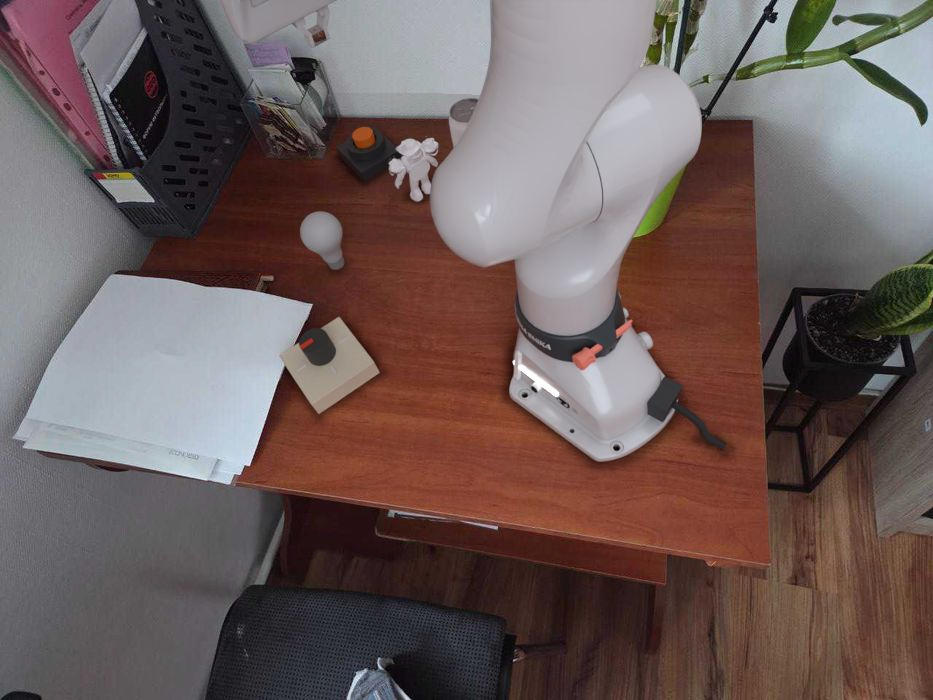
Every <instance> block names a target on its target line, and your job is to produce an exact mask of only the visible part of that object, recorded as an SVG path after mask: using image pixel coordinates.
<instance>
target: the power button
mask: <svg viewBox="0 0 933 700" xmlns="http://www.w3.org/2000/svg"><path fill="white" fill-rule="evenodd" d="M352 133H353V134H352ZM352 133H351V134H352V137H353V140H354V143H355V145H356V147H357V148H361V149H363V148H368V147H370V146H371V145H373V144H374V143H375V137H374V134H373V131H372V129H371V127H370V128H369V126H361V127H358V128H356V129H355V130H354V131H353V132H352Z"/></svg>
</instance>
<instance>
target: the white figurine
mask: <svg viewBox="0 0 933 700" xmlns="http://www.w3.org/2000/svg"><path fill="white" fill-rule="evenodd" d="M396 147H397V148H396V150H397V149H398V150H397V151H398V152H399V153H400V154H401V156H402V157H401V160H400V159H395V158H394V159H392V161H390V162H389V163H388V164H389V165H390V166H389V168H388V172H389V174H390V176H393V177H394V175H395V174H396V178H395V180H394V186H395V187H396V189H400V187H401V186H402V184H403V180H404V178H405V176H406V174H407V173H408V176H409V178H408V179H409V188H410V193H409V197H410V199H411V200H413V201H414V202H420V201H422V200H423V199H424V195H423V194H425V195H430V190H431V184H432V182H431V181H430V180H429V175H428V174H429V171H430V169H431V166H433V167H435V168H438V167H439V163H438V160H437V159H436V158H435V156H437V155H438V153H439V142H437V141H435V138H434V137H428V138H427V137H426V139H424V140H423V141H422V142H420V141H418V140H417V139H414V138H406V139H404V140H401V143H400V144H399V145H398V146H396ZM435 151H436V152H435ZM434 152H435V153H434ZM390 159H391V158H390ZM419 181H420V182H419ZM419 183H421V189H420V186H419ZM422 192H424V193H422Z"/></svg>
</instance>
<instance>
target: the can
mask: <svg viewBox="0 0 933 700" xmlns="http://www.w3.org/2000/svg"><path fill="white" fill-rule="evenodd" d="M478 100H479V98H476V97H467V98H462V99H460V100H457V101H456V102H454V103H453V104H452V105H451V106H450V109H449V117H448V126H449V132H450V137H451V142H452V147H453V148H454V147H455V145H456V144H457V143H458V141H459V139H460V138H461V136H462V134H463V133H464V131H465V129H466V127H467V125H468V123H469V121H470V119H471V117H472V115H473V112H474V110H475V108H476V105H477V102H478ZM453 148H452V149H453Z"/></svg>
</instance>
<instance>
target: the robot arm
mask: <svg viewBox="0 0 933 700" xmlns="http://www.w3.org/2000/svg"><path fill="white" fill-rule="evenodd" d="M337 1H338V0H220V3H221V5H222V8H223V12H224V14H225V16H226V19H227V21H228V23H229V26H230V29H231V30H232V31H233V33H234V35H235V36H236V37H237V38H238V39H239V40H240V41H242V42H244V43H246V44H248V45H254V44H256V43H257V42H259V41H261V40H263V39H266V38H267V37H269V36H271V35H272V34H274V33H277V32H279V31H280V30H283V29H285V28H286V27H289V26H290V25H292V26H294V27H295V28H296V29H297V30H298V31H300V33H301V34H303V37H304V39H305V42H306V44H307V45H308V46H309V47H310V48H311V49H314V48H315V47H317V46H319V45H321V44H322V43H324V42H327V41H329V40H330V39H331V37H330V33H329V31H328V25H329V19H330V13H331V12H330V9H329V5H331V4H333V3H334V2H335V3H336V2H337ZM657 3H658V0H489V18H490V49H489V60H488V65H487V70H486V74H485V78H484V81H483V82H484V83H483V85H482V89H481V91H480V94H479V98H478V99H479V100H478V102H477V105H476V108H475V110H474V112H473V115H472V117H471V119H470V121H469V123H468V125H467V127H466V129H465V131H464V133H463V134H462V136H461V138H460V139H459V141H458V143H457V144H456V145H455V147H454V148H452V149H451V150H450V153H448V155H447V156H446V157H445V158H444V159H443V161H441V163H440V164H438V166H437V167H436V169H435V171H434V173H433V177H432V180H431V190H430V194H429V207H430V214H431V218H432V222H433V224H434V227H435V229H436V231H437V234H438V235H439V237H440V238H441V240H442V242H444V244H445V245H446V247H448V248H449V250H451V252H452V253H454V254H455V255H456V256H458V257H459V259H461V260H463V261H465V262H467V263H469V264H472V265H474V266H477V267H480V268H488V267H491V266H495V265H496V266H497V265H500V264H503V263H507V262H510V261H513V260H514V271H515V279H516V288H517V289H516V291H515V299H514V301H515V302H514V314H515V317H516V318H515V319H516V322H517V326H518V330H517V337H516V343H515V347H514V350H513V355H512V364H513V365H512V366H513V374H512V378H511V380H510V383H509V386H508V395H509V397H510V399H511V400H512V401H513V402H515V403H517V405H519V406H520V407H522V408H523V409H524V410H525V411H527V412H528V413H530V414H531V415H533V416H534V417H535V418H537V419H538V420H540V421H541V422H542V423H543V424H545V425H546V426H547V427H549V428H550V429H551V430H553V431H554V432H555V433H557V434H558V435H559V436H560V437H562V438H564V440H566V441H568V442H569V443H570V444H572V445H573V446H574V447H576V448H577V449H578V450H580V451H581V452H582V453H584V454H585V455H587V456H588V457H589V458H590V459H592V460H593V461H595V462H601V463H602V462H611V461H614V460H618V459H620V458H623V457H626V456H628V455H630V454H631V453H634V452H635V451H637V450H638V449H640V448H642V447H643V446H645V445H646V444H647V443H648V442H650V441H651V440H652V439H653V438H654V437H656V436H657V435H658V434H659V433H660V432H661V431H662V430H663V429H664V428H665V427H666V426H667V424H668V423H669V422H670V421H671V419H672V417H673V416H674V414H675V412H677V413H678V414H680V415H682V416H683V417H685V418H686V419H687V420H689V421H690V422H691V423H692V424H693V425H695V426H696V428H697V429H698V431H699V434H700V435H701V437H702V438H703V439H704V440H705V441H706V442H707V443H709V444H711V445H712V446H714V447H716V448H718V449H720V450H722V451H723V450H724V449H725V448H726V446H727V445H728V443H727V442H726V441H723V440H721V439H719V438H717V437H715V436H714V435H712V434H711V433H710V432H709V429H708V426H707V425H706V423H705V422H704V421H703V420H702V419H701V418H700V417H699V416H698V415H697V414H695V413H694V412H693V411H692V410H690V409H688V408H687V407H685V405H682V403H680V402H679V398H680V396H681V393H682V390H683V387H684V385H682V384H681V383H678V382H676V381H675V380H673V379H671V378H669V377H667V376H666V375H665V374H664V373H663V371H662V370H661V369H660V367H659V366H658V365H657V363H656V362H655V360H654V359H653V356H651V354H650V352H649V350H650V349H652V348H653V347H654V342H653V339H652V337H651V335H650V334H649V333H648V332H647V331H641V332H639V333H637V332H636V331H635V329H634V327H633V319H632V318H631V319H629V320H628V317H629V316H630V315H629V311H628V310H627V308H625V307H623V304H622V301H621V293H620V292H619V290H618V281H619V276H620V271H621V266H622V261H623V258H624V256H625V254H626V252H627V250H628V247H629V246H630V244H631V242H632V240H633V238H634V237H635V235H636V233H637V231H638V230H639V228H640V226H641V225H642V223H643V221H644V220H645V218H646V216H647V214H648V213H649V212H650V210H651V208H652V207H653V206H654V204H655V203H656V201H657V199H658V198H659V197H660V195H661V194H662V193H663V192H664V191H665V189H666V188H667V186H668V185H669V184H670V183H671V181H673V180H674V178H675V177H676V176H677V175H678V174H679V173H680V172H681V171H682V170H683V169H684V168H685V167H686V166H687V165H688V164H689V163H690V162H691V161H692V160H693V159H694V158H695V156H696V154H697V152H698V150H699V147H700V144H701V139H702V133H703V132H702V131H703V117H702V111H701V108H700V104H699V101H698V99H697V96H696V94H695V92H694V91H693V89H692V88H691V86H690V85H689V83H688V82H687V81H686V80H685V79H684V78H683V77H682V76H681V75H680V74H679V73H677V72H676V71H675V70H673V69H672V68H670V67H668V66H665V65H662V64H650V65H645V66H642V64H643V62H644V61H645V58H646V56H647V53H648V50H649V49H650V45H651V40H652V36H653V35H652V34H653V28H654V22H655V17H656V11H657V10H656V9H657ZM313 13H317V14H316V24H315V25H314V26H312V27H310V28H308V29H307V28H305V27H304V26H306V25H307V22H306V19H305V18H306V17H307V16H309V15H312V14H313ZM524 395H525V396H527V397H523V396H524ZM616 447H617V448H618V449H619V450H615V449H614V448H616Z"/></svg>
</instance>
